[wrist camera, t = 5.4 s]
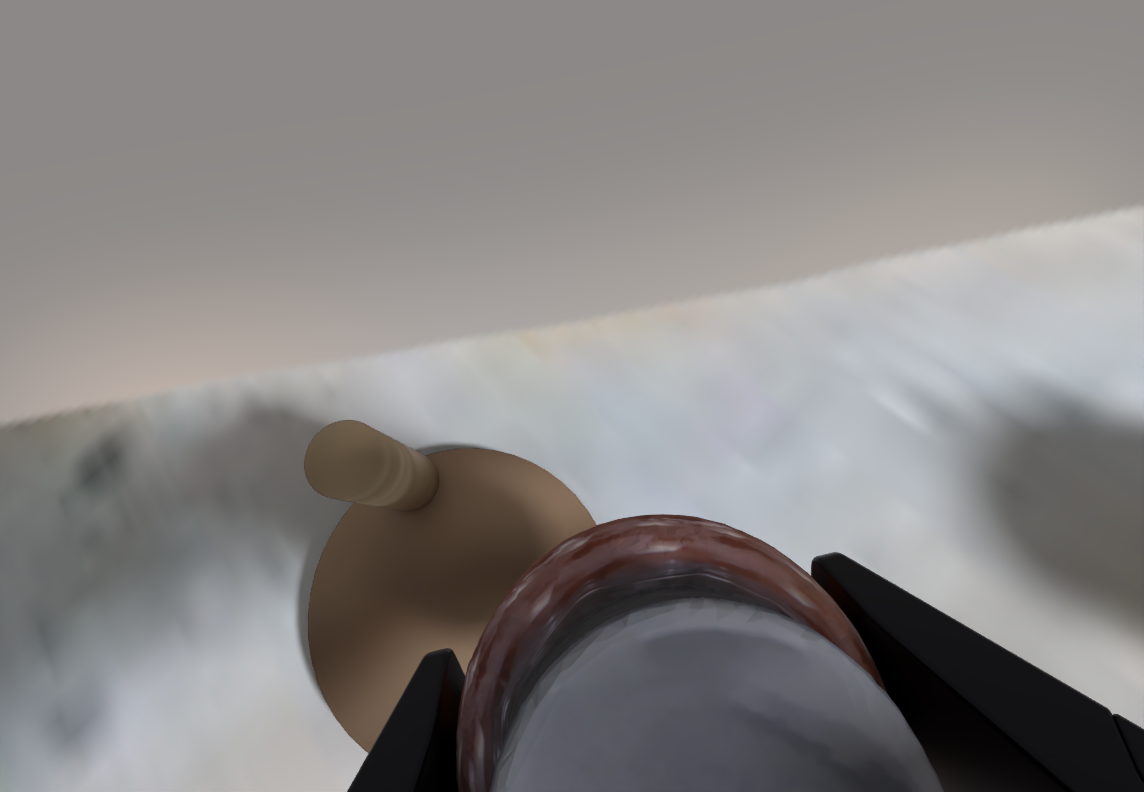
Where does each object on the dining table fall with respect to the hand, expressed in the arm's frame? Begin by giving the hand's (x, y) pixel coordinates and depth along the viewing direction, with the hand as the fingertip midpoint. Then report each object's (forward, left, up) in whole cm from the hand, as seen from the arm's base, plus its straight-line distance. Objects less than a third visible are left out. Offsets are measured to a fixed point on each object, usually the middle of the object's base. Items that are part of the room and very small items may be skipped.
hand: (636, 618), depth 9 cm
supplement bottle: (-1, -1, -7) cm, 8 cm away
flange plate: (-4, +5, -13) cm, 15 cm away
